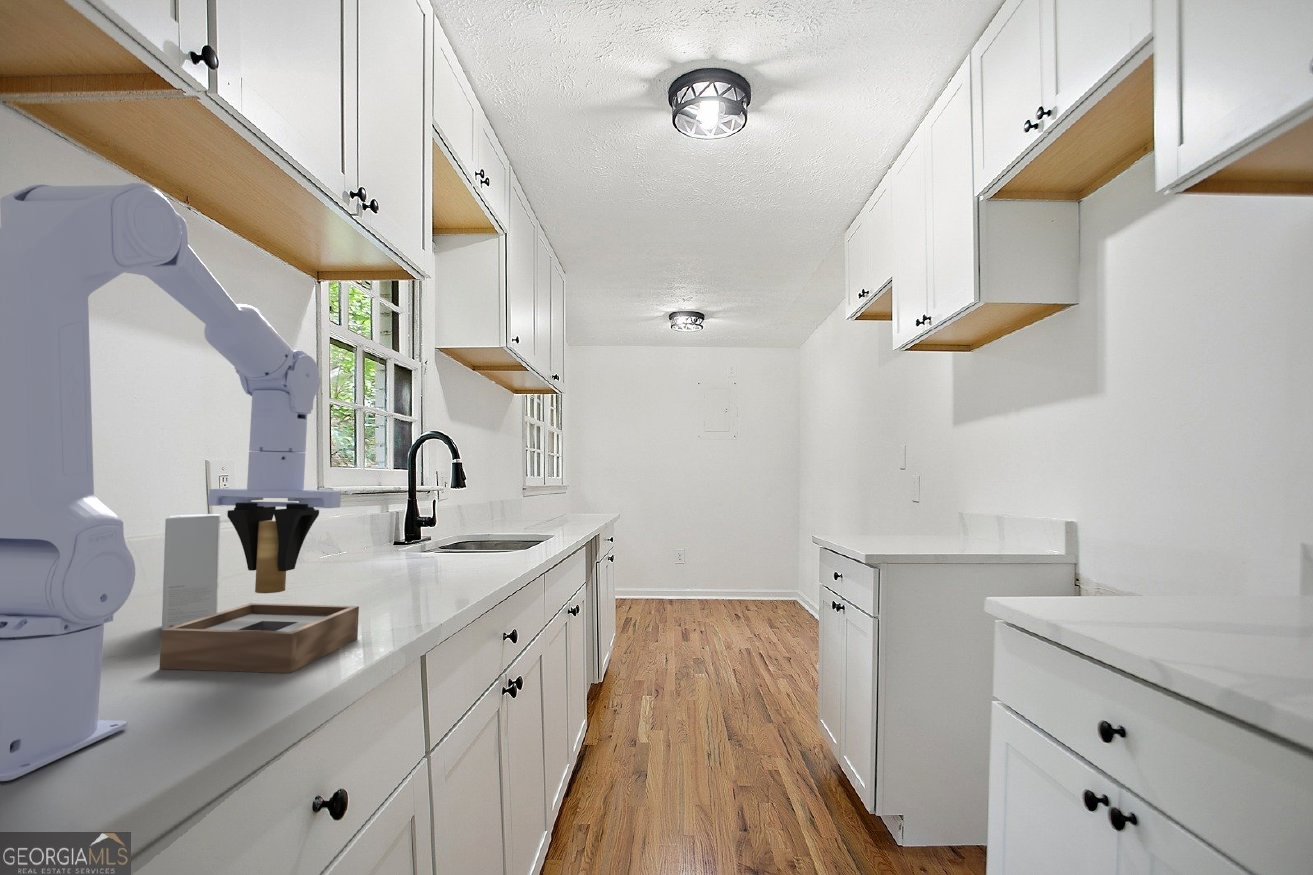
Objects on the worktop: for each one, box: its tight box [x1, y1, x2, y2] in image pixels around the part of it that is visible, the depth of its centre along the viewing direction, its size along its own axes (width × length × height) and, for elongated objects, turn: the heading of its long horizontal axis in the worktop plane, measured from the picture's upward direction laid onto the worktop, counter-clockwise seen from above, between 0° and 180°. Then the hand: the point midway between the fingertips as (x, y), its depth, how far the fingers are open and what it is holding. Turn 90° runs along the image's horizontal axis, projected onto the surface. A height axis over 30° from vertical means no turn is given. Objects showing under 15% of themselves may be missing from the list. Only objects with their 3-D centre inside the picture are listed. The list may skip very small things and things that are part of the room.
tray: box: [158, 602, 360, 674], centre depth 75 cm, size 14×14×4 cm
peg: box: [254, 519, 287, 594], centre depth 75 cm, size 3×3×8 cm
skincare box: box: [161, 513, 221, 631], centre depth 85 cm, size 8×6×15 cm
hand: (271, 569), depth 75 cm, fingers closed on peg, 3 cm apart
